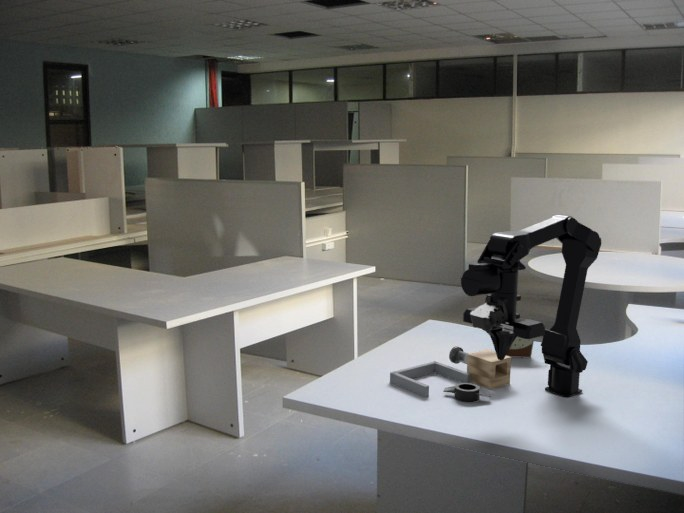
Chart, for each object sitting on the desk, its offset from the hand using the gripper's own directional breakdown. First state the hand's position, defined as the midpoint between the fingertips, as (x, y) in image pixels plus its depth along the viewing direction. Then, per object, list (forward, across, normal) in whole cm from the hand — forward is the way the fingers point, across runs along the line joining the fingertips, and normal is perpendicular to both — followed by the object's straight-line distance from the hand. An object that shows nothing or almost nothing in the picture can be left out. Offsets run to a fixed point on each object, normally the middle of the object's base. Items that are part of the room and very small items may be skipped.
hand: (500, 359), depth 155 cm
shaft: (+10, -19, +12) cm, 24 cm away
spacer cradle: (+12, -22, 0) cm, 25 cm away
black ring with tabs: (+12, -9, 0) cm, 15 cm away
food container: (+12, -26, +36) cm, 46 cm away
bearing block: (+12, -14, +12) cm, 22 cm away
